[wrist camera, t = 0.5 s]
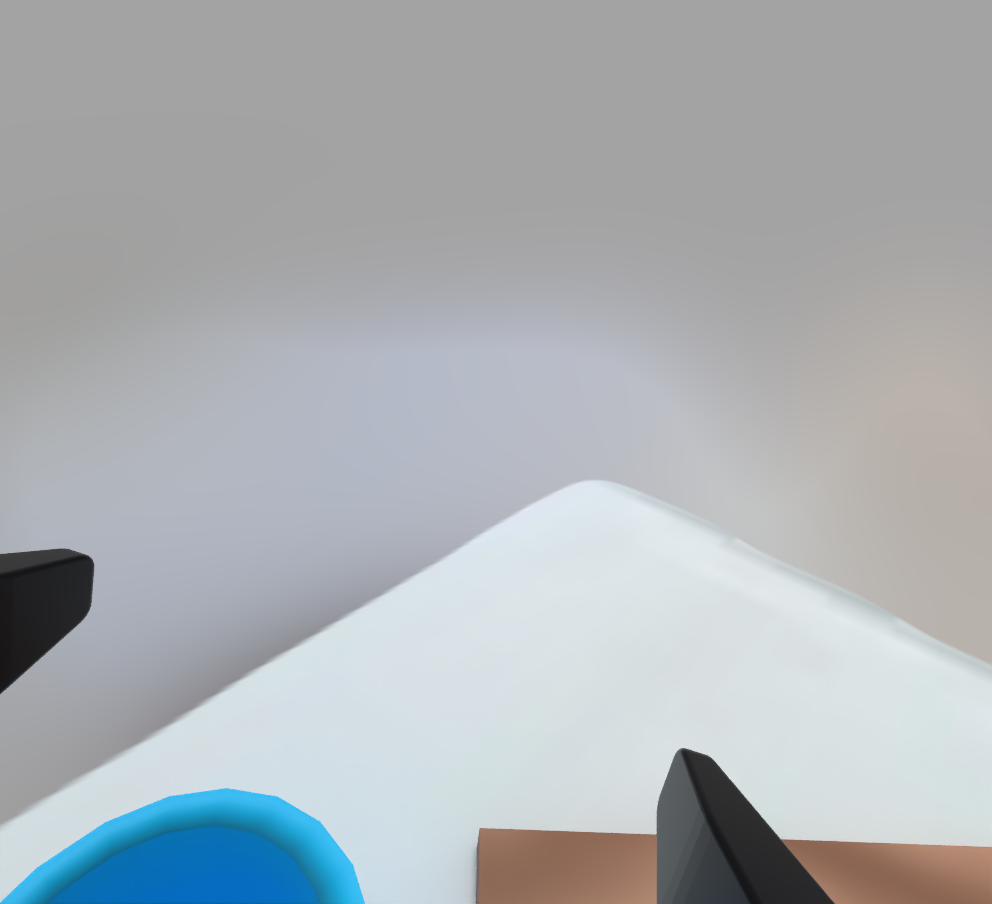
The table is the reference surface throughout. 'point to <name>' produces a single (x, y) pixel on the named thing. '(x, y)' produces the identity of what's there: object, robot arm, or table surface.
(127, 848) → the mug
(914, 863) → the fulcrum stand
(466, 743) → the table surface
